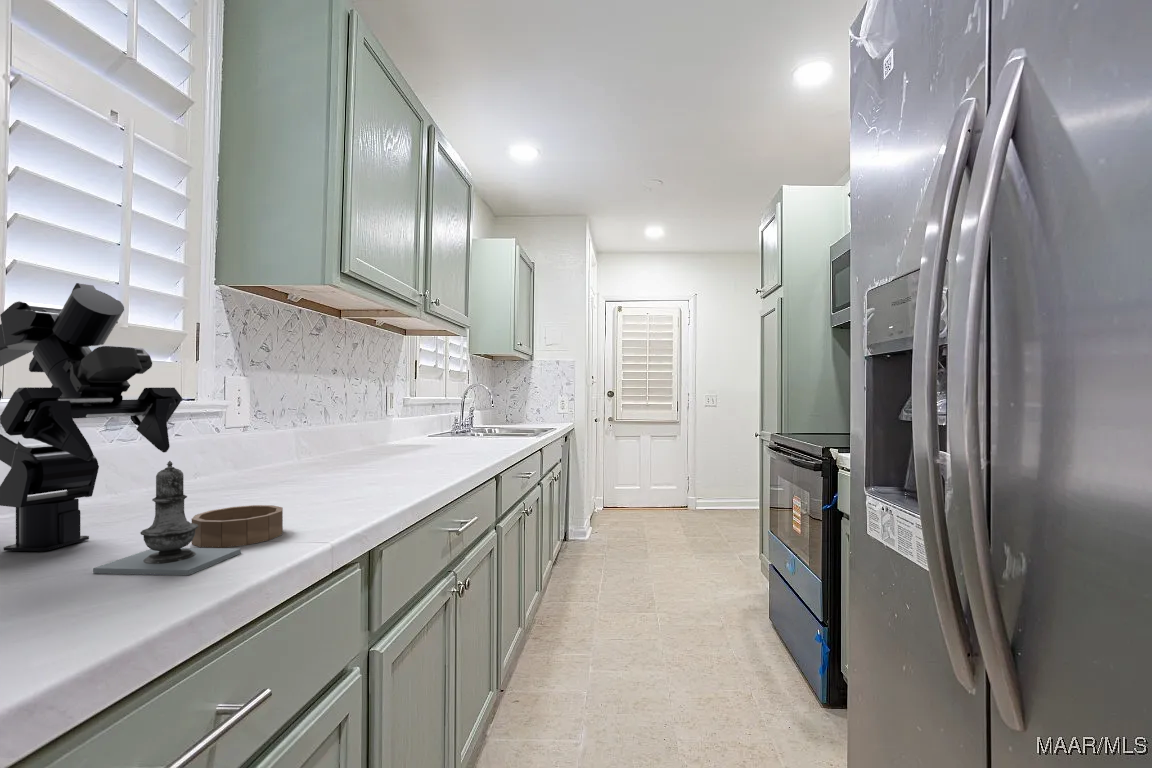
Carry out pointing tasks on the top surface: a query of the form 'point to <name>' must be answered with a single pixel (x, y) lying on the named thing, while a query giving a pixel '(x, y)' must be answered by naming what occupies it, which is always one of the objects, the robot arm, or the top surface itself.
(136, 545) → the top surface
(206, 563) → the mat
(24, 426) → the robot arm
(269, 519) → the ring
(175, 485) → the salt shaker
